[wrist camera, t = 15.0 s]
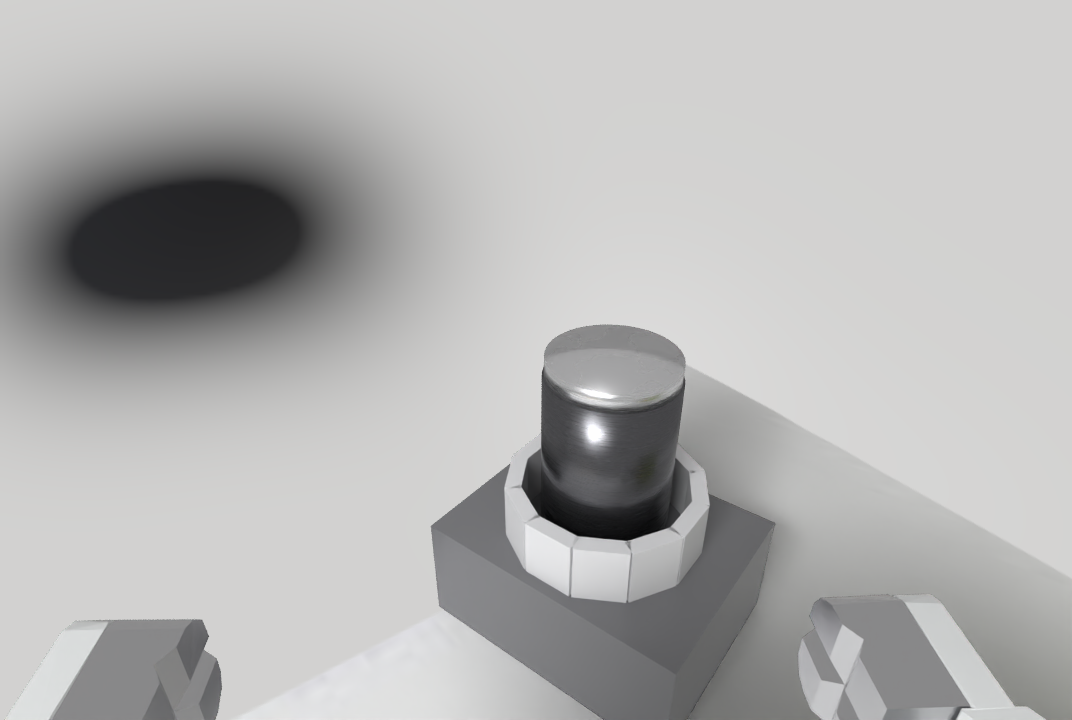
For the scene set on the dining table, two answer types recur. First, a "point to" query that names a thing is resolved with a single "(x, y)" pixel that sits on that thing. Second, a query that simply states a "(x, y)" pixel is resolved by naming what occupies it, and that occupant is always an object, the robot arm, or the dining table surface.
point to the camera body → (604, 590)
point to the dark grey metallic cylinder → (610, 430)
